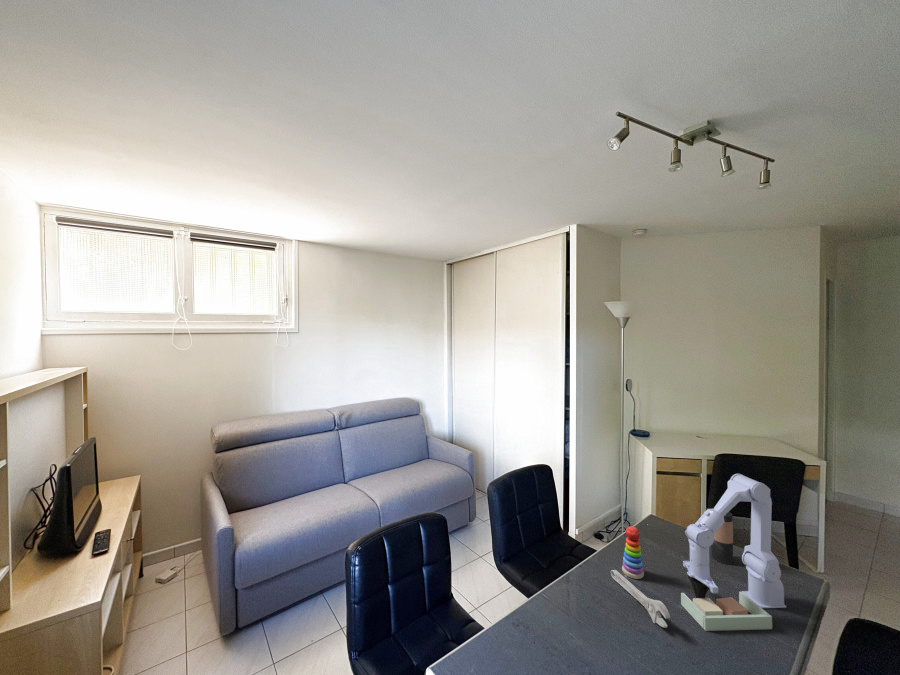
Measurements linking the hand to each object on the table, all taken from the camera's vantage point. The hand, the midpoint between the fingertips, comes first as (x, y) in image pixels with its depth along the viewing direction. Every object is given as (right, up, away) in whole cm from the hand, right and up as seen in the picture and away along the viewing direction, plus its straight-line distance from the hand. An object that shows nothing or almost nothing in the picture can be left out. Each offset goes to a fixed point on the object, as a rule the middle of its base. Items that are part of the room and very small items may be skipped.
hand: (700, 599), depth 125 cm
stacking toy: (-15, -2, +16) cm, 23 cm away
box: (+4, -1, -6) cm, 7 cm away
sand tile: (0, -2, -4) cm, 4 cm away
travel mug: (+27, -2, +25) cm, 37 cm away
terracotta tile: (+8, -2, -4) cm, 9 cm away
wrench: (-22, -2, +1) cm, 22 cm away
